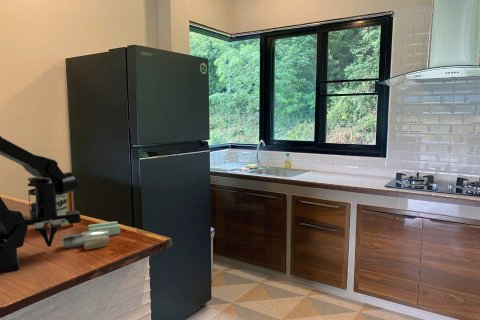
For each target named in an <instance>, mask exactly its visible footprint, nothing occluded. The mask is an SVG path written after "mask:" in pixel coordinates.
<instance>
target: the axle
mask: <svg viewBox="0 0 480 320" xmlns="http://www.w3.org/2000/svg"><path fill="white" fill-rule="evenodd" d="M106 235H107V237H108V242H110V235H109V232H108V230H103V231H96V232H89V233H82V232H81V233H76V234H69V235H63V236H62V248H64V249H70V247H71V248H76V246H77V247H82V246H83V247H84V239H86V238H92V237H99V236H106Z"/></svg>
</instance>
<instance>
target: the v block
mask: <svg viewBox="0 0 480 320" xmlns="http://www.w3.org/2000/svg"><path fill="white" fill-rule="evenodd" d="M87 227H88V228H87V229H88V231H94V230H101V229H103V230H108V232H109V236H113V235H114V236H115V235H120V234H121V226H120V224H119V222H118V221H117V220H116V221H109V222H101V223H94V224H93V223H92V224H88V226H87Z"/></svg>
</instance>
